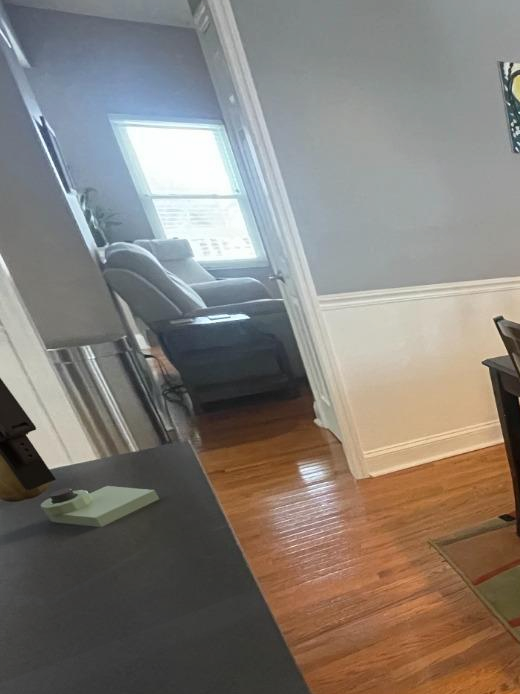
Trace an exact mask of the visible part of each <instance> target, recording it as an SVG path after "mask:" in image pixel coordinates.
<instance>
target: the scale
mask: <svg viewBox="0 0 520 694" xmlns="http://www.w3.org/2000/svg"><path fill="white" fill-rule="evenodd" d="M72 491H73V493H74V494H75V496H76V497H75V498H73V499H71V500H68V501H65V502H62V503H56V504H55V503H54V502H53V501H52V499H51V498H50V497H49V498H48V499H46V500H44V501H43V502H41V503H40V508H41V509H42V510H43V512H44V513H45V515H46V516H47V518H48V519H49V520H50V521H51V523H58V524H59V523H61V524H68V525H77V526H89V527H97V528H102V527H104V526H107V525H108V524H111V523H113V522H115V521H117V520H119V519H121V518H123V517H125V516H127V515H129V514H132V513H134V512H136V511H138V510H140V509H143V508H144V507H146V506H149V505H150V504H152V503H154V502H157V501H159V500H160V497H159V496H158V494H157V492H156V490H155V489H146V488H134V487H123V486H112V485H111V486H110V485H106V486H104V487H101V488H99V489H97V490H95V491H92V492H90V493H89V492H88V490H83V489H79V490H78V489H77V490H72Z"/></svg>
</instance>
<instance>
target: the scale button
mask: <svg viewBox="0 0 520 694" xmlns="http://www.w3.org/2000/svg"><path fill="white" fill-rule="evenodd" d="M73 491H74V490H72V488H63V489H58V490H55V491H53V492H51V493H50V494H49V495H48V497H49V499H50V498H51V499H52V501H53V502H54V503H55V504H56V503H62V502H65V501H68V500H71V499H73V498H75V497H76V496H75V494H74V493H73Z"/></svg>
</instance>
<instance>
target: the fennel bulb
mask: <svg viewBox="0 0 520 694" xmlns="http://www.w3.org/2000/svg"><path fill="white" fill-rule="evenodd" d="M51 484H52V481H51V482H49V483H46V484H44V485H41V486H39V487H36V488H34V489H31V490H26V489H25V488H24V487H23V485H22V484H21V482H20V481H19V480H18V478H17V477H16V475H15V474H14V472H13V471H12V470H11V468H10V467H9V465H8V464H7V463H6V461H5V460H4V458H3V457H2V456H1V454H0V500H1V501H5V502H9V503H15V502H23V501H26V500H31V499H34V498H36V497H38V496H40V495H42V494H43V493H44V492H45V491H46V490H48V489H49V488H50V487H51Z"/></svg>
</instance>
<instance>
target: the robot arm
mask: <svg viewBox="0 0 520 694" xmlns="http://www.w3.org/2000/svg"><path fill="white" fill-rule="evenodd" d="M34 431H37V427H36V425H35V423H34V422H33V421H32V419H31V418H30V417H29V415H28V413H27V412H26V411H25V410H24V409H23V407H22V406H21V404H20V403H19V401H18V400H17V399H16V397H15V396H14V394H13V393H12V392H11V390H10V389H9V388H8V386H7V385H6V384H5V382H4V381H3V379H2V378H1V377H0V454H1V456H2V457H3V458H4V460H5V461H6V463H7V464H8V465H9V467H10V468H11V470H12V471H13V472H14V474H15V475H16V477H17V478H18V480H19V481H20V482H21V484H22V485H23V487H24V488H25V489H26V490H31V489H34V488H36V487H39V486H41V485H44V484H46V483H49V482H51V483H52V482H54V481H56V480H57V479H56V477H55V476H54V475H53V472H52V471H51V470H50V468H49V467H48V466H47V464H46V462H45V461H44V460H43V458H42V456H41V455H40V454H39V452H38V450H37V449H36V448H35V446H34V445H33V443H32V442H31V440H30V439H29V437H28V434H29V433H31V432H34Z"/></svg>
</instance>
